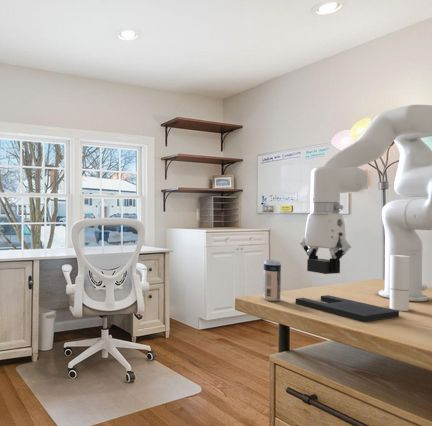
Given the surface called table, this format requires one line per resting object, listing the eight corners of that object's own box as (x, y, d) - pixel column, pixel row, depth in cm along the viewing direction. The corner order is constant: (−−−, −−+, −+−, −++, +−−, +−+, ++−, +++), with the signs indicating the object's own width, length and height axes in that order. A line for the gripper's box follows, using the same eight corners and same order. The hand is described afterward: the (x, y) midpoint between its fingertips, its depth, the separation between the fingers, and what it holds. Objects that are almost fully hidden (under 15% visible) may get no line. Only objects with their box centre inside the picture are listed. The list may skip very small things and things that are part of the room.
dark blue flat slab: (328, 299, 117) (328, 295, 117) (399, 316, 98) (399, 310, 98) (295, 303, 111) (295, 298, 111) (364, 322, 93) (364, 315, 93)
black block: (321, 270, 114) (321, 258, 114) (339, 273, 109) (340, 261, 109) (307, 270, 112) (307, 259, 112) (325, 274, 106) (325, 261, 106)
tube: (412, 311, 104) (412, 256, 104) (394, 310, 105) (395, 256, 105) (403, 307, 108) (404, 255, 108) (386, 306, 109) (387, 254, 109)
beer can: (283, 302, 113) (283, 261, 113) (267, 301, 113) (267, 261, 113) (276, 298, 118) (276, 259, 118) (260, 298, 118) (261, 259, 118)
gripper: (362, 209, 104) (361, 274, 104) (307, 209, 120) (306, 266, 120) (344, 208, 101) (343, 275, 101) (290, 208, 117) (289, 267, 117)
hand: (323, 270), depth 110 cm, fingers closed on black block, 6 cm apart
